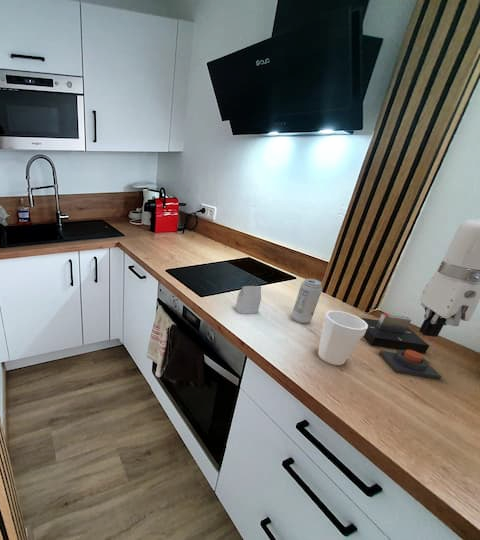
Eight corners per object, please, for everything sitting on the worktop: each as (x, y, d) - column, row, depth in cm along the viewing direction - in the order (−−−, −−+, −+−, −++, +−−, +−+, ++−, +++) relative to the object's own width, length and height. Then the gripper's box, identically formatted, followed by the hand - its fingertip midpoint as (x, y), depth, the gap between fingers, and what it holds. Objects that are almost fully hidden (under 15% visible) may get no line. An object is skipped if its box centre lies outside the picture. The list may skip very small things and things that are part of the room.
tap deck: (399, 330, 96) (403, 322, 95) (425, 353, 85) (430, 345, 84) (352, 324, 99) (355, 316, 98) (371, 345, 88) (375, 337, 87)
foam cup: (356, 361, 81) (373, 322, 76) (343, 373, 77) (360, 334, 71) (320, 343, 89) (333, 307, 83) (305, 354, 84) (319, 316, 78)
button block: (418, 359, 83) (423, 351, 81) (439, 379, 76) (445, 371, 74) (378, 353, 85) (382, 345, 84) (395, 372, 78) (400, 363, 76)
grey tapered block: (257, 313, 104) (263, 288, 100) (239, 313, 103) (245, 288, 100) (252, 307, 107) (258, 284, 103) (235, 308, 107) (240, 284, 103)
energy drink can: (312, 325, 97) (326, 286, 91) (293, 322, 99) (305, 283, 93) (307, 316, 103) (320, 279, 97) (289, 313, 104) (300, 276, 98)
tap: (401, 330, 91) (408, 316, 89) (404, 333, 89) (411, 319, 87) (375, 326, 93) (382, 312, 90) (378, 329, 91) (385, 315, 89)
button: (414, 355, 80) (417, 350, 80) (423, 364, 77) (426, 359, 76) (399, 353, 81) (402, 348, 80) (408, 361, 78) (410, 356, 77)
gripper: (511, 286, 61) (468, 354, 68) (454, 262, 74) (424, 321, 82) (468, 282, 63) (431, 349, 70) (420, 259, 76) (393, 317, 83)
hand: (427, 334), depth 76 cm, fingers closed
